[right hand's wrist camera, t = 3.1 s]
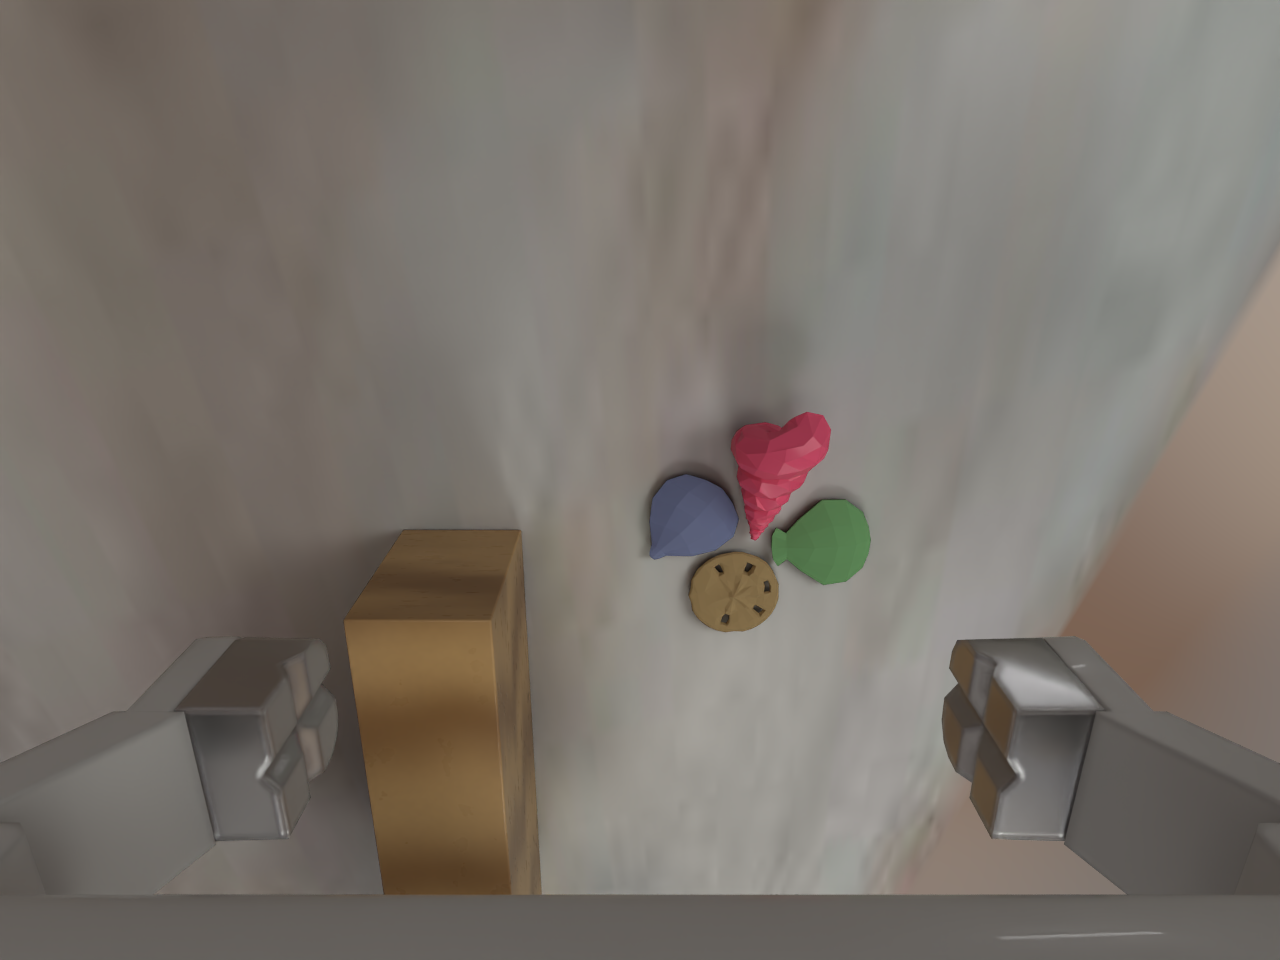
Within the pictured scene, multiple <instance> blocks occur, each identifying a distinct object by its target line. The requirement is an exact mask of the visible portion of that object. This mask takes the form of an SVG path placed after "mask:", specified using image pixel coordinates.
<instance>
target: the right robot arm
mask: <svg viewBox="0 0 1280 960" xmlns="http://www.w3.org/2000/svg"><path fill="white" fill-rule="evenodd" d="M330 669H331V666H330V661H329V656H328V651H327V646H326V645H325V644H324V643H323V642H322V641H321V640H320V639H310V638H259V637H244V638H241V637H205V638H200V639H196V640H195V641H194V642H193V643H192V644H191V645H190V646H189V647H188V648H187V649H186V650H185V651H184V652H183V653H182V654H181V656H180V657H179V658H178V659H177V660H176V661H175V662H174V663H173V664H172V665H171V666H170V667H169V668H168V669H167V670H166V671H165V672H164V673H163V674H162V675H161V676H160V677H159V678H158V679H157V680H156V681H155V682H154V683H153V684H152V685H151V686H150V688H149V689H148V690H147V691H146V692H145V693H144V694H143V695H142V696H141V697H140V698H139V699H138V700H137V701H136V702H135V703H134V704H133V705H132V706H131V707H130V708H129V709H128V710H127V711H126V712H111V713H109V714H107V715H105V716H103V717H100V718H98V719H96V720H94V721H92V722H89V723H87V724H85V725H83V726H81V727H78V728H76V729H74V730H72V731H70V732H67V733H65V734H63V735H61V736H59V737H57V738H54V739H52V740H50V741H48V742H46V743H43V744H41V745H39V746H37V747H35V748H32V749H30V750H28V751H26V752H24V753H21V754H19V755H17V756H15V757H13V758H10V759H8V760H6V761H4V762H2V763H0V960H1280V763H1278V762H1276V761H1274V760H1271V759H1269V758H1267V757H1265V756H1263V755H1261V754H1258V753H1256V752H1254V751H1252V750H1250V749H1247V748H1245V747H1243V746H1241V745H1239V744H1236V743H1234V742H1232V741H1230V740H1228V739H1226V738H1223V737H1221V736H1219V735H1217V734H1215V733H1212V732H1210V731H1208V730H1206V729H1204V728H1201V727H1199V726H1197V725H1195V724H1193V723H1191V722H1188V721H1186V720H1184V719H1182V718H1180V717H1177V716H1175V715H1173V714H1171V713H1169V712H1154V711H1153V710H1152V709H1151V708H1150V707H1149V706H1148V705H1147V704H1146V703H1145V702H1144V701H1143V700H1142V699H1141V698H1140V697H1139V696H1138V695H1137V694H1136V693H1135V692H1134V690H1133V689H1132V688H1131V687H1130V686H1129V685H1128V684H1127V683H1126V682H1125V681H1124V680H1123V679H1122V678H1121V677H1120V676H1119V675H1118V674H1117V673H1116V672H1115V671H1114V670H1113V669H1112V668H1111V667H1110V666H1109V665H1108V664H1107V663H1106V662H1105V660H1104V659H1103V658H1102V657H1101V656H1100V655H1099V654H1098V653H1097V652H1096V651H1095V650H1094V649H1093V648H1092V647H1091V646H1090V645H1089V644H1088V643H1087V642H1086V641H1085V640H1083V639H1080V638H1078V637H1075V636H1072V637H1045V638H1014V639H975V640H957V642H956V644H955V646H954V648H953V650H952V655H951V660H950V666H949V669H950V670H951V672H952V674H953V675H954V677H955V679H956V680H957V682H958V684H957V685H956V686H955V687H954V688H953V689H952V690H951V691H950V692H949V693H948V694H947V695H946V697H945V698H944V705H943V713H942V729H943V740H944V744H945V748H946V751H947V754H948V757H949V759H950V761H951V763H952V765H953V767H954V769H955V771H956V772H957V773H958V774H960V775H961V776H963V777H964V778H966V779H967V780H969V781H970V782H972V786H971V792H970V800H971V802H972V803H973V805H974V807H975V809H976V811H977V813H978V815H979V816H980V818H981V820H982V822H983V824H984V826H985V827H986V829H987V831H988V833H989V835H990V837H991V839H1011V840H1047V841H1065V842H1064V845H1066V846H1067V847H1068V848H1069V849H1071V850H1072V851H1073V852H1075V853H1076V854H1077V855H1078V856H1080V857H1081V858H1082V859H1083V860H1084V861H1086V862H1087V863H1088V864H1089V865H1091V866H1092V867H1093V868H1094V869H1096V870H1097V871H1098V872H1099V873H1101V874H1102V875H1103V876H1104V877H1106V878H1107V879H1108V880H1110V881H1111V882H1112V883H1113V884H1115V885H1116V886H1117V887H1118V888H1120V889H1121V890H1122V891H1123V892H1125V893H1126V894H1127V895H153V894H154V893H156V892H157V891H158V890H159V889H161V888H162V887H163V886H164V885H166V884H167V883H168V882H170V881H171V880H172V879H173V878H175V877H176V876H177V875H178V874H180V873H181V872H182V871H183V870H185V869H186V868H187V867H188V866H190V865H191V864H192V863H193V862H195V861H196V860H197V859H198V858H200V857H201V856H202V855H203V854H205V853H206V852H207V851H208V850H210V849H211V848H212V847H213V846H215V845H216V843H215V841H233V840H268V839H289V837H290V835H291V833H292V831H293V829H294V828H295V826H296V824H297V822H298V820H299V818H300V816H301V815H302V813H303V811H304V809H305V807H306V805H307V803H308V802H309V800H310V798H311V797H310V792H309V786H308V782H310V781H311V780H313V779H314V778H316V777H317V776H319V775H320V774H322V773H323V772H324V771H325V769H326V767H327V765H328V763H329V761H330V759H331V757H332V755H333V751H334V747H335V742H336V738H337V734H338V711H337V704H336V698H335V697H334V695H333V694H332V693H331V692H330V691H329V690H328V689H327V688H326V687H325V686H324V685H323V684H322V682H323V680H324V679H325V677H326V675H327V674H328V672H329V670H330Z"/></svg>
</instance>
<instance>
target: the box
mask: <svg viewBox="0 0 1280 960" xmlns="http://www.w3.org/2000/svg"><path fill="white" fill-rule="evenodd" d="M343 622H344V628H345V635H346V642H347V649H348V655H349V662H350V669H351V676H352V682H353V689H354V696H355V703H356V709H357V716H358V723H359V730H360V736H361V743H362V750H363V757H364V763H365V770H366V777H367V784H368V790H369V797H370V804H371V811H372V817H373V824H374V831H375V838H376V844H377V851H378V858H379V865H380V871H381V878H382V885H383V892H384V895H542V893H541V875H540V857H539V840H538V822H537V804H536V786H535V768H534V750H533V732H532V714H531V696H530V679H529V661H528V643H527V625H526V607H525V589H524V571H523V553H522V535H521V530H403V531H402V533H401V534H400V536H399V537H398V539H397V540H396V542H395V543H394V545H393V546H392V548H391V549H390V551H389V552H388V554H387V555H386V557H385V558H384V560H383V561H382V563H381V564H380V566H379V567H378V569H377V570H376V572H375V573H374V575H373V576H372V578H371V579H370V581H369V582H368V584H367V585H366V587H365V588H364V590H363V591H362V593H361V594H360V596H359V597H358V599H357V600H356V602H355V603H354V605H353V606H352V608H351V609H350V611H349V612H348V614H347V615H346V617H345V618H344V620H343Z"/></svg>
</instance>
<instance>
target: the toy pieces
mask: <svg viewBox="0 0 1280 960" xmlns="http://www.w3.org/2000/svg"><path fill="white" fill-rule="evenodd" d="M830 433H831V429H830V427H829V425H828V423H827V422H826V420H825V418H824V416H823V415H819V414H814V413H810V412H806V413H803V414H801V415H798V416H796V417H794V418H793V419H791V420H790V421H788V422H787V423H786V424H785V425H784V426H783V427H782V428H781V427H780V426H778V425H774V424H770V423H766V422H764V423H757V424H750V425H745V426H743V427H742V428H740V429H739V430H738V431H736V433H735V435H734V437H733V439H732V442H731V451H732V453H733V455H734V457H735V459H736V461H737V463H738V465H739V467H738V472H737V479H738V481H739V484H740V486H741V487H742V488H741V491H742V495H743V499H744V503H745V506H744V508H745V513H746V519H747V520H748V524H749V525H750V532H749V533H750V534H751V539H753V540H757V538H759V536H760V534H761V533H762V532H764V529H765V528H766V527H767V526H768V524H769V523H770V522H772V521H773V519H774V517H775V515H776V514H778V513H779V512H780V510H781V506H782V505H783V504H785V503H786V502H788V500H789V497H790V494H791V492H793V491H795V490H796V489H798V488H800V486H801V485H802V484H803V483H804V481H805V478H806V476H807V473H808V471H810V470H811V469H812V468H813V467H814V466H816V465H817V464H818V463H819V462H820V461H822V460H823V459H824V458H825V455H826V453H827V451H828V447H829V440H830ZM738 520H739V518H738V516H737V513H736V511H735V508H734V506H733V503H732V502H731V500H730V499H729V497H728V496H727V495H726V493H725V492H724V490H723V489H722V488H720V487H718V486H716V485H714V484H713V483H711V482H709V481H707V480H704V479H701V478H697V477H694V476H691V475H687V474H685V475H682V476H679V477H676V478H673V479H670V480H667V481H666V482H665V484H664V485H663V486H662V487H661V488H660V490H659V491H658V492H657V493H656V495H655V496H654V497H653V500H652V507H651V515H650V530H651V539H652V546H651V549H650V557H651V558H653V559H659V558H662V557H664V556H694V555H698V554H702V553H707V552H711V551H715V550H716V549H718V548H719V547H720V546H722V545H723V544H724V543H726V542H727V541H728V540H729V539H731V538H732V537H733V536H734V533H735V530H736V527H737V523H738ZM870 541H871V539H870V533H869V527H868V524H867V522H866V519H865V517H864V514H863V512H862V511H860V510H859V509H858V508H856V507H855V506H854V505H852V504H851V503H849V502H848V501H847V500H845V499H837V500H821V501H819V502H818V503H817V504H816V505H815V506H814V507H812V508H811V509H810V510H809V511H808V512H806V513H805V514H804V515H803V516H802V517H800V518H799V519H798V520H797V521H796V522H795V523H794V524H793V526H792V527H791V528H790V529H789V530H788V531H787V532H786V533H785V532H783V531H781V530H780V529H778V528H776V529H775V530H774V532H773V534H772V544H771V548H772V555H773V560H774V561H775V563H776V564H777V566H779V565H780V564H781V563H783V562H784V561H785V560H786V559H787V560H789V561H790V562H791V563H792V564H793V565H794V566H796V567H797V568H798V569H799V570H800V571H802V572H803V573H805V574H807V575H808V576H810V577H811V578H813V579H815V580H816V581H818V582H819V583H821V584H823V585H826V584H833V583H839V582H846V581H847V580H848V579H850V578H851V577H852V576H853V575H854V574H855V573H857V572H858V571H859V570H860V569H861V568H862V567H863V565H864V563H865V560H866V558H867V556H868V552H869V547H870ZM747 563H750V564H752V565H753V566H752V568H751V570H749V571H748V572H746V571H744V569H745V567H746V565H747ZM717 565H720V566H721V568H722V570H723V572H720V573H719V572H718V571H717V570H716V569H715V566H717ZM767 580H768V582H769V591H765V592H764V588H765V585H764V582H765V581H767ZM689 598H690V600H691V604H692V611H693V612H694V614H695V615H696V617H697V618H698V619H699V620H700V621H701V622H702V623H704V624H705V625H707V626H708V627H710V628H713V629H715V630H718V631H723V632H730V631H746V630H749V629H752V628H754V627H756V626H758V625H759V624H761V623H762V622H763V621H765V620H766V619H767V618H768V617H769V616H770V614H771V613H772V612H773V610H774V608H775V607H776V604H777V601H778V582H777V580H776V577H775V575H774V573H773V570H772V569H771V568H770V566H769V565H768V564H767V562H765V561H763V560H762V559H760V558H759V557H757V556H754V555H750V554H747V553H744V552H730V553H725V554H720V555H718V556H716V557H714V558H712V559H710V560H708V561H706V562H705V563H704V564H703V565H702V566H701V567H700V568H698V570H697V571H696V573H695V574H694V576H693V578H692V579H691V589H690V592H689ZM755 605H757V606H759V607H760V608H762V609H763V610H762V611H761V612H760V613H758V612H757V611H755V610H754V609H753V607H754V606H755ZM724 614H727V615H729V620H728V621H727V622H726V623H724V622H721V619H722V617H723V615H724Z"/></svg>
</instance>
